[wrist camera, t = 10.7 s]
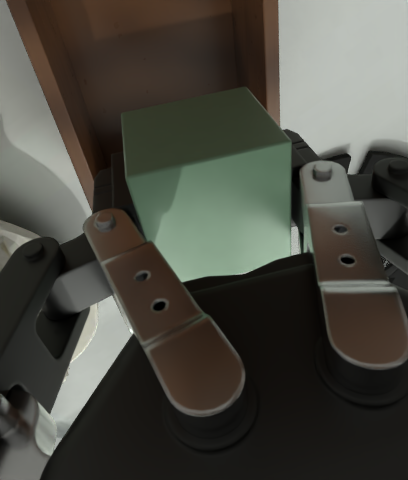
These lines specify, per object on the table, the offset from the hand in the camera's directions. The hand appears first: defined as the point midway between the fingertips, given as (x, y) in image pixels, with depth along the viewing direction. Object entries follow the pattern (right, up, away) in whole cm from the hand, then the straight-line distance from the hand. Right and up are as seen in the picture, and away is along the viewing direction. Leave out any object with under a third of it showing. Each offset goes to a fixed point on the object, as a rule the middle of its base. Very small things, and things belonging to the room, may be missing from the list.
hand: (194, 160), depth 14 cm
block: (0, 0, 0) cm, 0 cm away
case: (-3, +9, +11) cm, 15 cm away
